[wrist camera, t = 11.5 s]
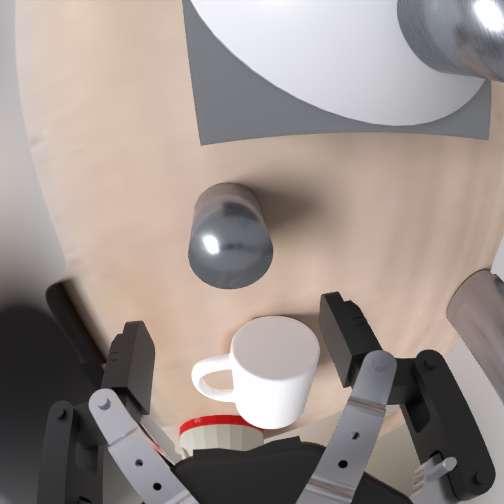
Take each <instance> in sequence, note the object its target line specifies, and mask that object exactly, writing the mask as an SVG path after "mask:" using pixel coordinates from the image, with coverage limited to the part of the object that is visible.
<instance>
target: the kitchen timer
mask: <svg viewBox="0 0 504 504" xmlns="http://www.w3.org/2000/svg"><path fill="white" fill-rule="evenodd" d="M262 445H264V436H263V428H260V427H256V426H254V425H252V424H250V423H249V422H247V421H246V420H245V419H244V418H243V417H242V416H233V415H213V416H205V417H200V418H196V419H192V420H190V421H188V422H185V423H184V424H183V425H182V426H181V427H180V446H181V454H182V459H185V458H187V457H190V456H193V449H210V448H223V449H231V450H239V451H248V450H251V449H254V448H256V447H259V446H262Z"/></svg>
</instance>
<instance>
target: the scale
mask: <svg viewBox="0 0 504 504" xmlns="http://www.w3.org/2000/svg"><path fill="white" fill-rule="evenodd" d="M397 1H398V0H182V4H183V13H184V23H185V32H186V40H187V49H188V57H189V65H190V73H191V81H192V88H193V96H194V103H195V110H196V117H197V124H198V131H199V137H200V144H201V146H202V145H208V144H215V143H222V142H229V141H237V140H245V139H254V138H263V137H274V136H285V135H299V134H315V133H341V132H394V133H419V134H434V135H447V136H457V137H467V138H475V139H483V140H488V139H489V126H490V103H491V81H490V80H489V79H483V78H477V77H471V76H464V75H456V74H447V73H441V72H438V71H435V70H433V69H431V68H430V67H428V66H427V65H426V64H424V63H423V62H422V61H421V60H420V59H419V58H418V57H417V56H416V55H415V54H414V52H413V51H412V50H411V48H410V47H409V45H408V44H407V42H406V40H405V38H404V36H403V34H402V31H401V29H400V26H399V22H398V17H397Z"/></svg>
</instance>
